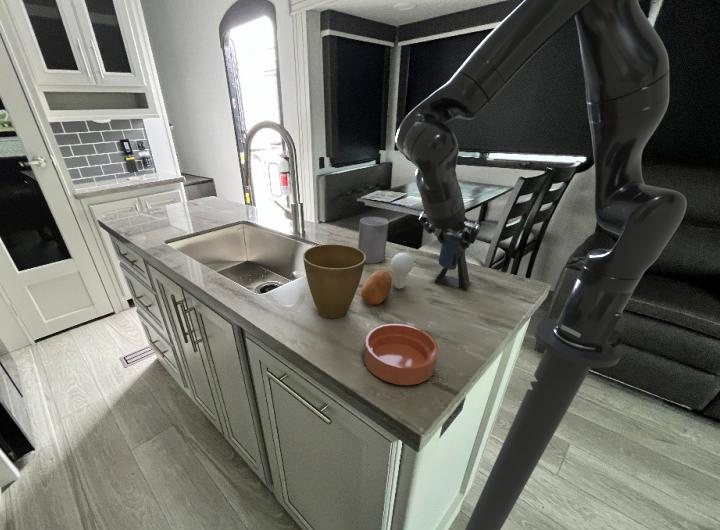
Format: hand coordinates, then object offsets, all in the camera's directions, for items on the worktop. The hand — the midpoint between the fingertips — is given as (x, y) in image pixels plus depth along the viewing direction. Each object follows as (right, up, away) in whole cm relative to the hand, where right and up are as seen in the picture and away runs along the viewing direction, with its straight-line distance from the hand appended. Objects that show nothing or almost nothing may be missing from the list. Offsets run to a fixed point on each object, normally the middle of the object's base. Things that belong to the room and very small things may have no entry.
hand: (454, 243), depth 79 cm
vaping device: (-1, -6, +2) cm, 6 cm away
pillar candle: (-15, +1, +35) cm, 38 cm away
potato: (-17, -13, +11) cm, 25 cm away
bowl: (-17, -27, -12) cm, 34 cm away
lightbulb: (-10, -11, +16) cm, 22 cm away
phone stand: (+7, -9, +19) cm, 22 cm away
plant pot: (-30, -17, +5) cm, 35 cm away
